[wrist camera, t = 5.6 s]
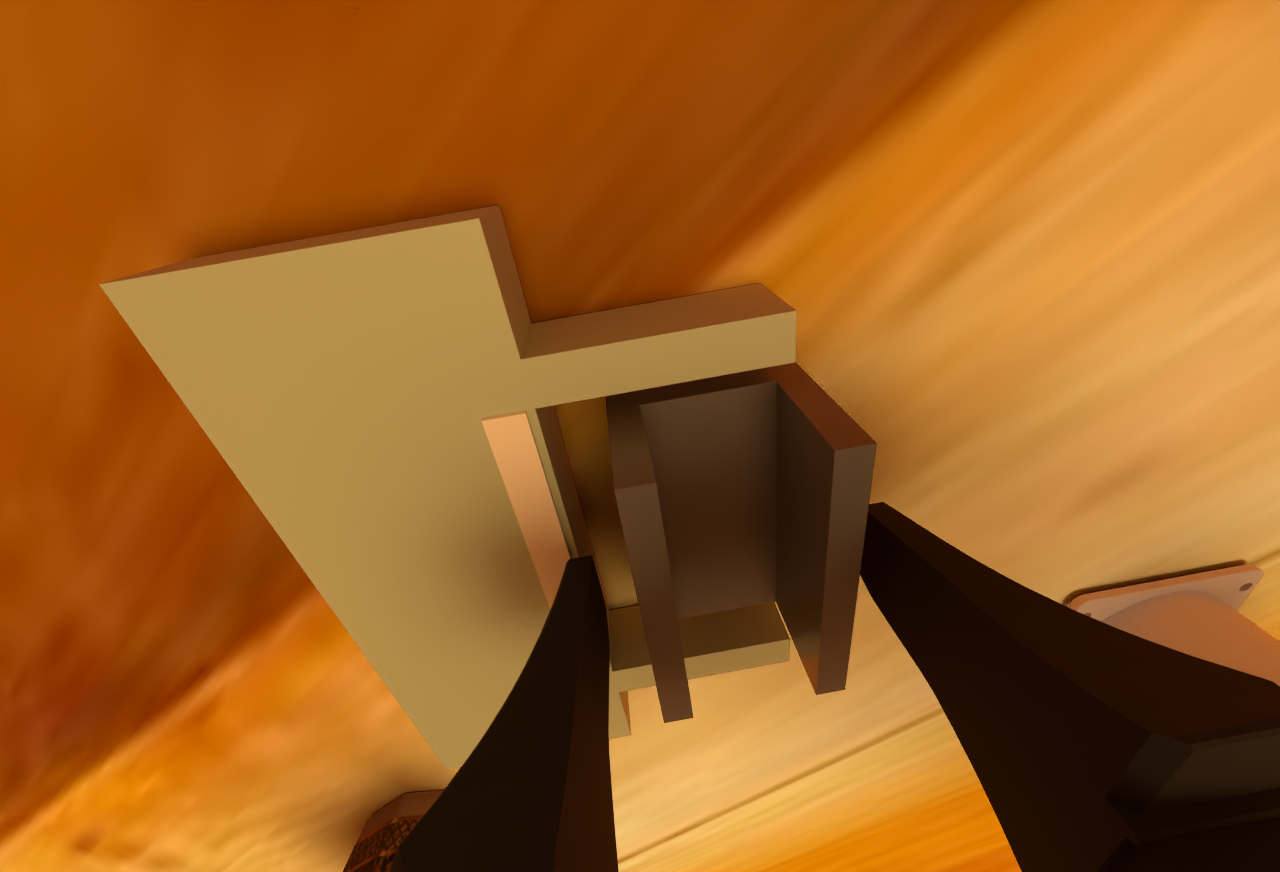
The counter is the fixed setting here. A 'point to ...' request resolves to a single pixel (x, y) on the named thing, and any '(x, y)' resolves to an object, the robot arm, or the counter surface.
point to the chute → (742, 512)
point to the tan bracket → (437, 442)
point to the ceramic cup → (388, 831)
